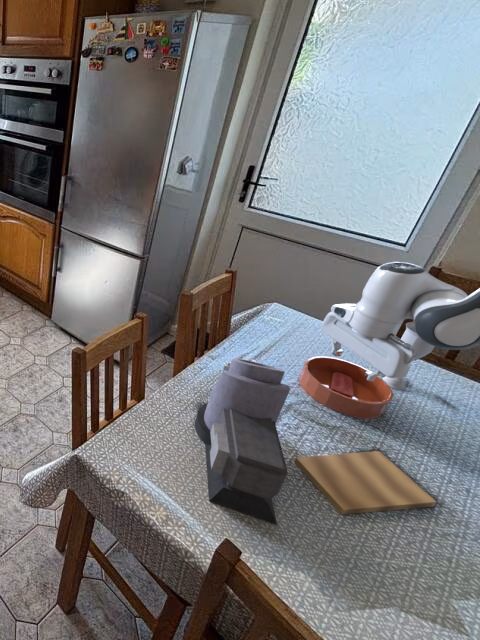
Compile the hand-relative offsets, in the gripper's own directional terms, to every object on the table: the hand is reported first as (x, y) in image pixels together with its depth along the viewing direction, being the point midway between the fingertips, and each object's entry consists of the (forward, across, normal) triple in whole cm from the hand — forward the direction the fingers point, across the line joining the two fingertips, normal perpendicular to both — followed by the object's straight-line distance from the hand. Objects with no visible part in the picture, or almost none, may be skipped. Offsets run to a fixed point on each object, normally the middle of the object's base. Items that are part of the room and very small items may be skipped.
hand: (351, 366), depth 108 cm
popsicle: (+9, 0, 0) cm, 9 cm away
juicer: (+9, -16, +41) cm, 45 cm away
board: (+9, -25, +19) cm, 33 cm away
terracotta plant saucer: (+9, 0, 0) cm, 9 cm away
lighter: (+9, +7, +25) cm, 27 cm away
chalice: (+9, +2, -18) cm, 21 cm away
